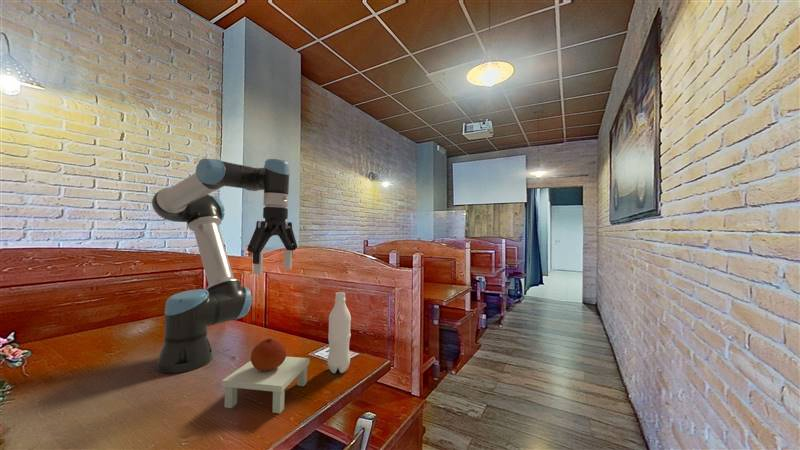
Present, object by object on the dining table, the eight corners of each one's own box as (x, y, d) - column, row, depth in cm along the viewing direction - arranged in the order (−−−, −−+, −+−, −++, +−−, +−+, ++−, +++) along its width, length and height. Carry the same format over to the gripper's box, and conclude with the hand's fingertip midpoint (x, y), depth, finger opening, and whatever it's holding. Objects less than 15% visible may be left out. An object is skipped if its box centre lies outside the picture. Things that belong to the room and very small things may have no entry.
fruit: (264, 379, 76) (264, 348, 76) (244, 370, 81) (244, 340, 81) (293, 366, 84) (293, 338, 84) (273, 358, 89) (274, 331, 89)
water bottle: (344, 376, 93) (346, 295, 93) (323, 373, 94) (325, 294, 95) (352, 366, 100) (354, 291, 100) (332, 364, 101) (334, 290, 102)
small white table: (221, 408, 76) (222, 380, 76) (259, 377, 91) (259, 354, 91) (280, 414, 73) (281, 386, 74) (308, 382, 89) (309, 358, 89)
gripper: (255, 203, 86) (253, 278, 86) (308, 209, 109) (306, 267, 109) (235, 203, 88) (232, 275, 88) (291, 209, 112) (289, 266, 112)
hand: (273, 271), depth 99 cm, fingers open, 13 cm apart
